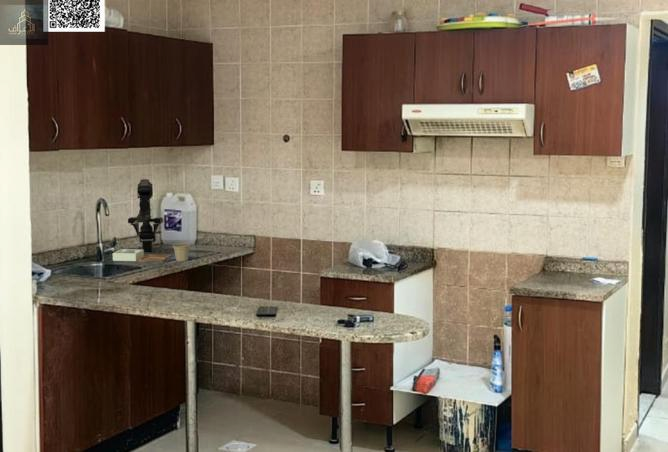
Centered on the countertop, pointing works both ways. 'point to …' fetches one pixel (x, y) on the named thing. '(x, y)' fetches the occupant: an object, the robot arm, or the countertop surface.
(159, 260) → the tray
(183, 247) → the flower pot
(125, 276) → the countertop surface
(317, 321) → the countertop surface
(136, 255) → the bin
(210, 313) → the countertop surface
